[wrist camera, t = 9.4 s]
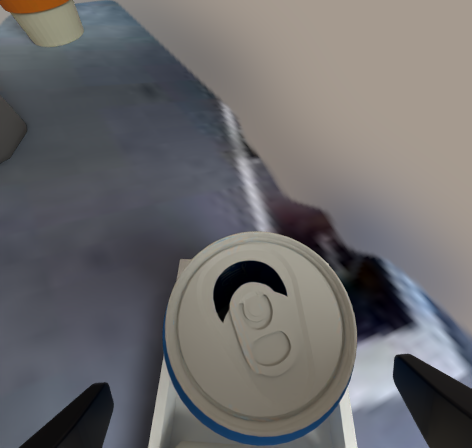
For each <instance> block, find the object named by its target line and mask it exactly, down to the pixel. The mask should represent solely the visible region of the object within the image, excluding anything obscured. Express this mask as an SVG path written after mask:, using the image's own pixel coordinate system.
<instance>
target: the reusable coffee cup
mask: <svg viewBox="0 0 472 448" xmlns="http://www.w3.org/2000/svg"><path fill="white" fill-rule="evenodd" d="M0 5H1V6H2V7H3V8H4V9H5V10H6V11H8V12H10V13H11V14H12V16H13V17H14V18H15V19H16V21H17V22H18V23H19V25H20V26H21V27H22V28H23V30H24V31H25V32H26V33H27V35H28V36H29V37H30V39H31V40H32V41H33V42H34V43H35V44H36V45H38V46H41V47H55V46H61V45H65V44H68V43H70V42H73V41H75V40H76V39H78V38H79V37H80V36H82V34H83V32H84V29H83V26H82V24H81V21H80V18H79V15H78V12H77V10H76V7H75V4H74V1H73V0H0Z"/></svg>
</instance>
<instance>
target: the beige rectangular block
mask: <svg viewBox="0 0 472 448" xmlns="http://www.w3.org/2000/svg"><path fill="white" fill-rule="evenodd" d="M175 448H283V447H268V446H253V445H238V444H223V443H208V442H193V441H181V442H180V443H179V444H178V445H177V446H176V447H175Z"/></svg>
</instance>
